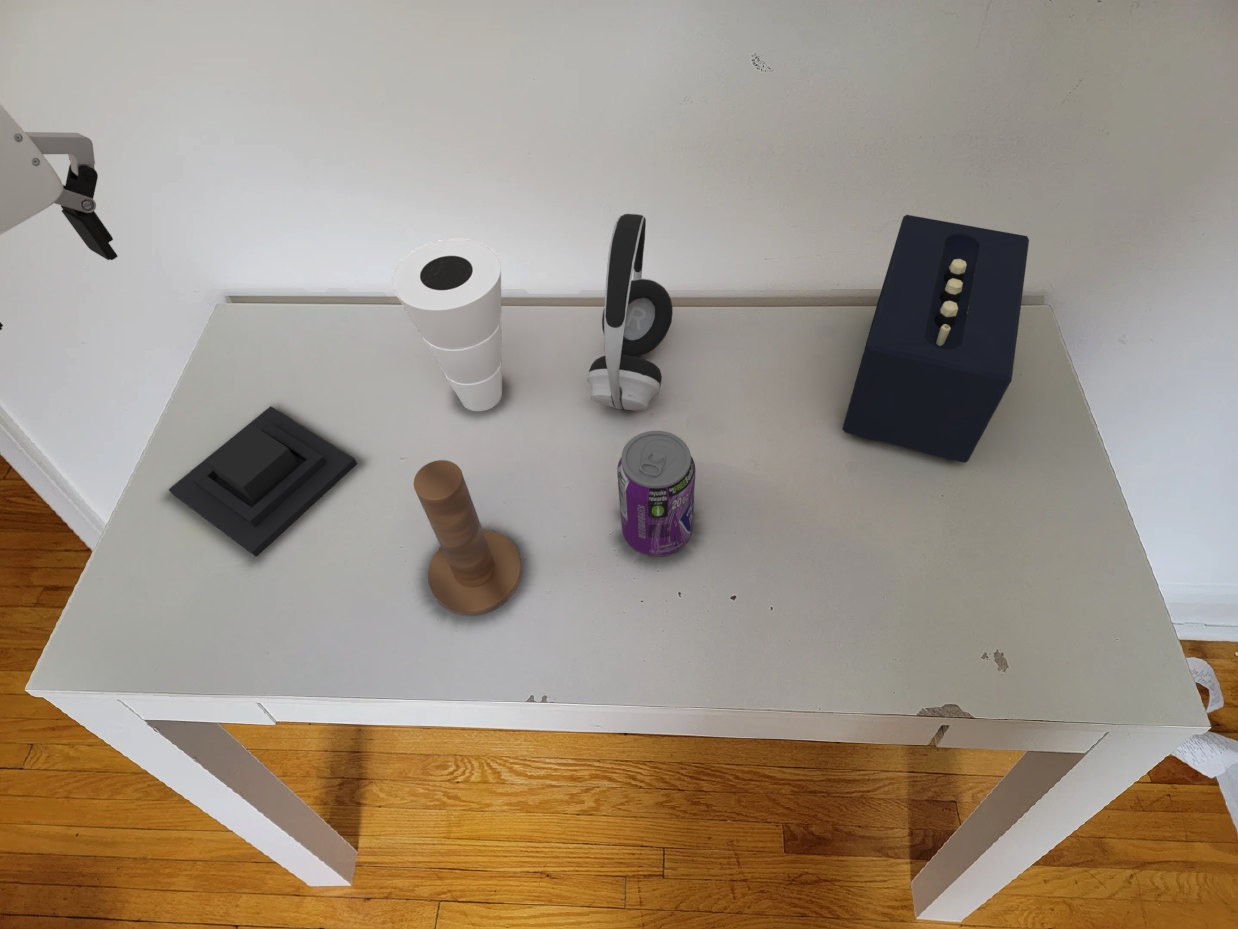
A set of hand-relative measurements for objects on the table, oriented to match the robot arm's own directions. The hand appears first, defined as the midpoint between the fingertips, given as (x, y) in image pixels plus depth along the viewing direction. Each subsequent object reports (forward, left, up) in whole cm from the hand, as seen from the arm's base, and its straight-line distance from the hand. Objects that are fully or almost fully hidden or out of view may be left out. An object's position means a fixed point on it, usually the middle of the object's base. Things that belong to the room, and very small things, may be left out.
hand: (49, 287), depth 60 cm
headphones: (+38, -28, -28) cm, 55 cm away
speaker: (+54, -56, -28) cm, 83 cm away
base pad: (+4, -3, -28) cm, 29 cm away
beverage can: (+22, -42, -28) cm, 55 cm away
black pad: (+4, -3, -27) cm, 28 cm away
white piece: (+26, -15, -28) cm, 41 cm away
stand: (+8, -30, -28) cm, 42 cm away
